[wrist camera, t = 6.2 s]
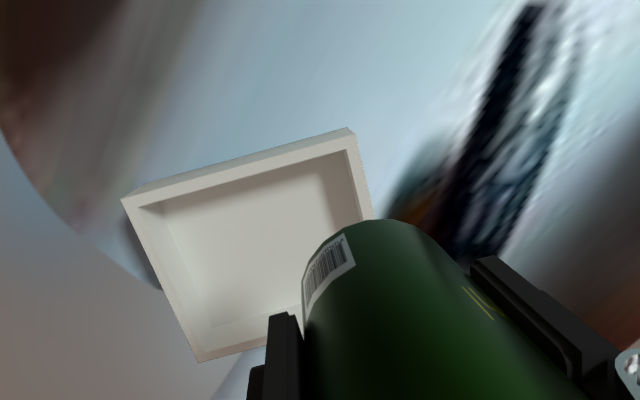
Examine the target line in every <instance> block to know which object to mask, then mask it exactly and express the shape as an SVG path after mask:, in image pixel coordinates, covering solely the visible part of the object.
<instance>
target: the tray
mask: <svg viewBox="0 0 640 400" xmlns="http://www.w3.org/2000/svg"><path fill="white" fill-rule="evenodd" d="M120 200H121V202H122V204H123V206H124V208H125V210H126V212H127V214H128V216H129V219H130V221H131V223H132V225H133V227H134V229H135V231H136V233H137V235H138V237H139V240H140V242H141V244H142V246H143V248H144V250H145V252H146V254H147V256H148V258H149V261H150V263H151V265H152V267H153V269H154V271H155V273H156V275H157V277H158V279H159V282H160V284H161V286H162V288H163V290H164V292H165V294H166V296H167V298H168V301H169V303H170V305H171V307H172V309H173V311H174V313H175V315H176V317H177V319H178V322H179V324H180V326H181V328H182V330H183V332H184V334H185V336H186V338H187V340H188V342H189V345H190V347H191V349H192V351H193V353H194V355H195V357H196V359H197V361H198V363H201V362H205V361H208V360H212V359H216V358H219V357H223V356H227V355H231V354H234V353H238V352H242V351H245V350H249V349H253V348H257V347H260V346H264V345H267V333H268V321H269V316H271V315H274V314H278V313H282V312H285V311H287V312H288V314H289V315H293V314H295V316H296V318H297V321H298V324H299V328H300V331H301V334H302V335H303V320H302V305H301V281H302V278H303V275H304V272H305V269H306V266H307V263H308V261H309V259H310V258H311V257H312V255H313V254H314V253H315V252H316V250H317V249H318V248H319V246H320V245H321V244H322V243H323V242H324V241H325V240H326V239H328V238H329V237H330V236H332V235H333V234H335V233H336V232H338V231H339V230H341V229H342V228H343V227H346V226H349V225H352V224H355V223H358V222H361V221H364V220H375V216H374V212H373V208H372V204H371V199H370V195H369V191H368V186H367V182H366V178H365V173H364V169H363V165H362V161H361V156H360V152H359V148H358V143H357V139H356V135H355V133H354V132H352V131H351V130H350V129H348V128H347V127H346V128H342V129H339V130H335V131H332V132H328V133H324V134H321V135H317V136H314V137H310V138H306V139H303V140H299V141H296V142H292V143H289V144H285V145H281V146H278V147H274V148H271V149H267V150H264V151H260V152H256V153H253V154H249V155H246V156H242V157H239V158H235V159H231V160H228V161H224V162H221V163H217V164H213V165H210V166H206V167H203V168H199V169H196V170H192V171H188V172H185V173H181V174H178V175H174V176H171V177H167V178H163V179H160V180H156V181H153V182H149V183H146V184H144V185H142V186H141V187H139V188H137V189H136V190H134V191H133V192H131V193H130V194H128V195H126V196H125V197H123V198H122V199H120Z"/></svg>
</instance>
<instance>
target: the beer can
mask: <svg viewBox="0 0 640 400" xmlns="http://www.w3.org/2000/svg"><path fill="white" fill-rule="evenodd" d="M301 305H302V320H303V336H304V350H305V366H306V381H307V397H308V400H589V399H588V398H587V397H586V396H585V394H584V393H583V392H582V391H581V390H580V389H579V388H578V387H577V386H576V385H575V384H574V383H573V382H572V381H571V380H570V379H569V378H568V377H567V376H566V375H565V374H564V373H563V372H562V371H561V370H560V369H559V368H558V367H557V366H556V365H555V364H554V363H553V362H552V361H551V360H550V359H549V358H548V357H547V356H546V355H545V354H544V353H543V351H542V350H541V349H540V348H539V347H538V346H537V345H536V344H535V343H534V342H533V341H532V340H531V339H530V338H529V337H528V336H527V335H526V334H525V333H524V332H523V331H522V330H521V329H520V328H519V327H518V326H517V325H516V324H515V323H514V322H513V321H512V320H511V319H510V318H509V317H508V316H507V315H506V314H505V313H504V312H503V311H502V309H501V308H500V307H499V306H498V305H497V304H496V303H495V302H494V301H493V300H492V299H491V298H490V297H489V296H488V295H487V294H486V293H485V292H484V291H483V290H482V289H481V288H480V287H479V286H478V285H477V284H476V283H475V282H474V281H473V280H472V279H471V278H470V277H469V276H468V275H467V274H466V273H465V272H464V271H463V270H462V269H461V268H460V266H459V265H458V264H457V263H456V262H455V261H454V260H453V259H452V258H451V257H450V256H449V255H448V254H447V253H446V252H445V251H444V250H443V249H442V248H441V247H440V246H439V245H438V244H437V243H436V242H435V241H434V240H433V239H432V238H431V237H429V236H428V235H427V234H425V233H424V232H422V231H421V230H420V229H418V228H417V227H415V226H414V225H410V224H407V223H403V222H400V221H396V220H393V219H379V220H364V221H361V222H358V223H355V224H352V225H349V226H346V227H343V228H342V229H341V230H339V231H338V232H336V233H335V234H333V235H332V236H330V237H329V238H328V239H326V240H325V241H324V242H323V243H322V244H321V245H320V246H319V248H318V249H317V250H316V252H315V253H314V254H313V255H312V257H311V258H310V259H309V261H308V263H307V266H306V269H305V272H304V275H303V278H302V281H301Z"/></svg>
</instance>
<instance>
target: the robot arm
mask: <svg viewBox="0 0 640 400" xmlns="http://www.w3.org/2000/svg"><path fill="white" fill-rule="evenodd" d="M470 275H471V279H472V280H473V281H474V282H475V283H476V284H477V285H478V286H479V287H480V288H481V289H482V290H483V291H484V292H485V293H486V294H487V295H488V296H489V297H490V298H491V299H492V300H493V301H494V302H495V303H496V304H497V305H498V306H499V307H500V308H501V309H502V311H503V312H504V313H505V314H506V315H507V316H508V317H509V318H510V319H511V320H512V321H513V322H514V323H515V324H516V325H517V326H518V327H519V328H520V329H521V330H522V331H523V332H524V333H525V334H526V335H527V336H528V337H529V338H530V339H531V340H532V341H533V342H534V343H535V344H536V345H537V346H538V347H539V348H540V349H541V350H542V351H543V353H544V354H545V355H546V356H547V357H548V358H549V359H550V360H551V361H552V362H553V363H554V364H555V365H556V366H557V367H558V368H559V369H560V370H561V371H562V372H563V373H564V374H565V375H566V376H567V377H568V378H569V379H570V380H571V381H572V382H573V383H574V384H575V385H576V386H577V387H578V388H579V389H580V390H581V391H582V392H583V393H584V394H585V396H586V397H587V398H588V399H589V400H640V348H639V349H631V350H627V351H625V352H621V351H620V350H618V349H617V348H616V347H615V346H613V345H612V344H611V343H609V342H608V341H607V340H606V339H604V338H603V337H602V336H600V335H599V334H598V333H597V332H595V331H594V330H593V329H592V328H590V327H589V326H588V325H586V324H585V323H584V322H583V321H581V320H580V319H579V318H578V317H576V316H575V315H574V314H572V313H571V312H570V311H569V310H567V309H566V308H565V307H563V306H562V305H561V304H560V303H558V302H557V301H556V300H555V299H553V298H552V297H551V296H549V295H548V294H547V293H545V292H544V291H541V290H538V289H537V288H536V287H534V286H533V285H532V284H531V283H529V282H528V281H527V280H526V279H524V278H523V277H522V276H521V275H519V274H518V273H517V272H515V271H514V270H513V269H512V268H510V267H509V266H508V265H507V264H505V263H504V262H503V261H502V260H500V259H499V258H498V257H496V256H495V255H492V256H489V257H485V258H481V259H478V260H475V262H474V266H471V267H470ZM246 400H308V397H307V381H306V366H305V350H304V340H303V337H302V334H301V331H300V328H299V324H298V321H297V318H296V316H295V314H293V315H289V314H288V312H287V311H285V312H282V313H278V314H274V315H271V316H269V321H268V333H267V345H266V357H265V364H264V365H260V366H256V367H253V368H252V369H251V371H250V375H249V383H248V390H247V397H246Z"/></svg>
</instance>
